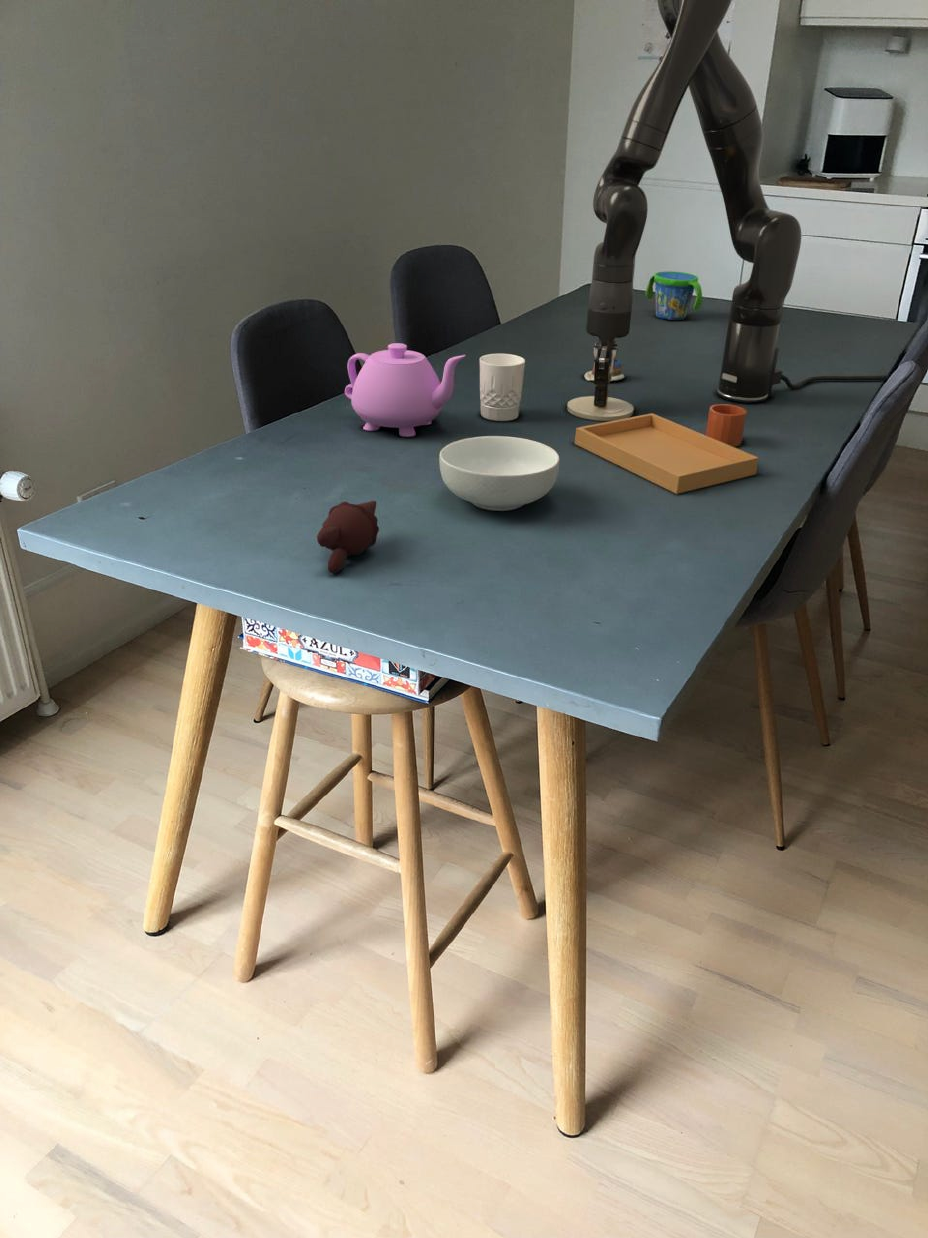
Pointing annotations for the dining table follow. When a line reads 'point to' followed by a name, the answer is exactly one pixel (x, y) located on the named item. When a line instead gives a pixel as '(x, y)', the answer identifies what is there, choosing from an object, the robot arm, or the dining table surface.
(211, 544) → the dining table surface
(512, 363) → the white cup
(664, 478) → the serving tray
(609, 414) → the round base post stand
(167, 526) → the dining table surface
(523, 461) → the cereal bowl
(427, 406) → the teapot
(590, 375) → the dessert
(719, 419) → the terracotta cup
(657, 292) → the snack cup
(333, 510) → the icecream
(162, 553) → the dining table surface
